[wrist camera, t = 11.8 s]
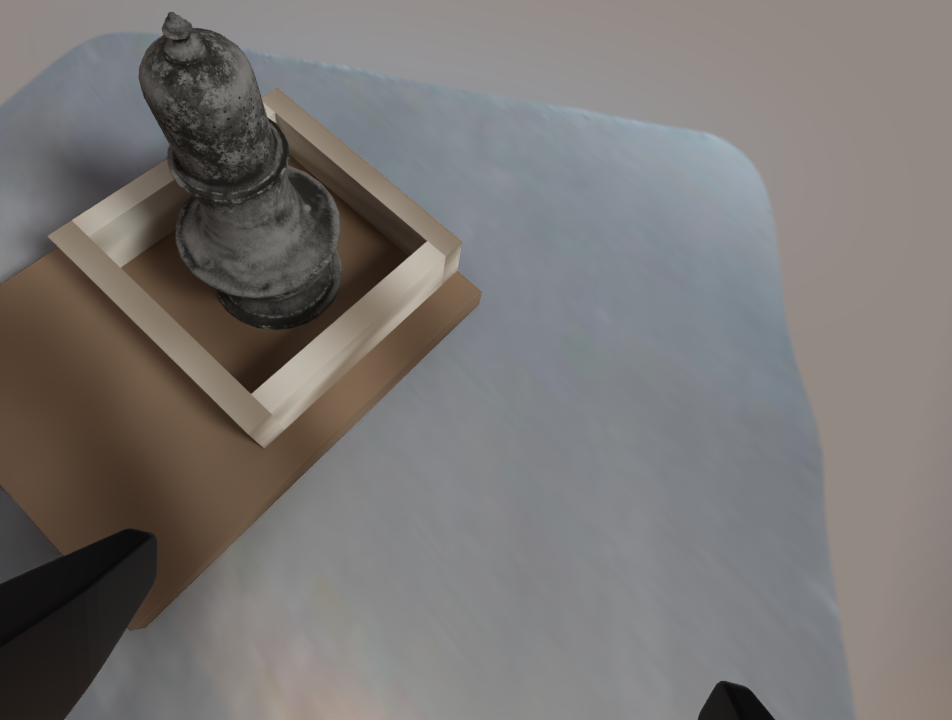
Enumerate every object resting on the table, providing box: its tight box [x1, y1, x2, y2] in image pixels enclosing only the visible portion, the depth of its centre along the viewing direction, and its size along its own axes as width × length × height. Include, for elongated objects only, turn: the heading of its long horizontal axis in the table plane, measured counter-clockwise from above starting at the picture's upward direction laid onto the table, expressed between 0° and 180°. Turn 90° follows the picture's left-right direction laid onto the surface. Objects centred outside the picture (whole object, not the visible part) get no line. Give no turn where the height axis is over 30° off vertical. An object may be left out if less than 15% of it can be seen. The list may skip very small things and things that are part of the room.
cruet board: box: [0, 88, 482, 630], centre depth 22 cm, size 18×14×4 cm
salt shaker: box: [139, 12, 342, 330], centre depth 18 cm, size 6×6×12 cm
